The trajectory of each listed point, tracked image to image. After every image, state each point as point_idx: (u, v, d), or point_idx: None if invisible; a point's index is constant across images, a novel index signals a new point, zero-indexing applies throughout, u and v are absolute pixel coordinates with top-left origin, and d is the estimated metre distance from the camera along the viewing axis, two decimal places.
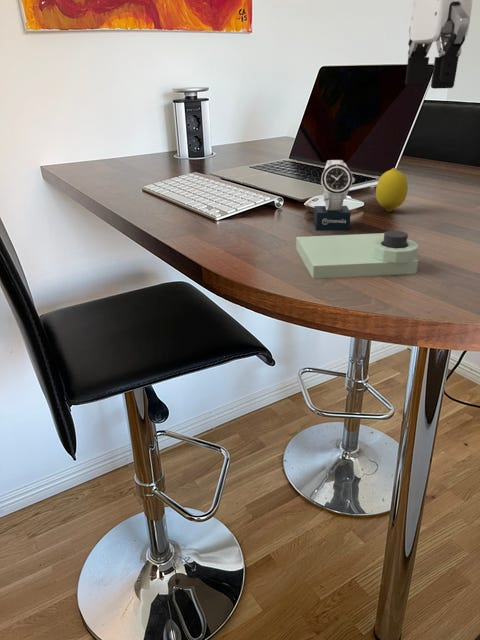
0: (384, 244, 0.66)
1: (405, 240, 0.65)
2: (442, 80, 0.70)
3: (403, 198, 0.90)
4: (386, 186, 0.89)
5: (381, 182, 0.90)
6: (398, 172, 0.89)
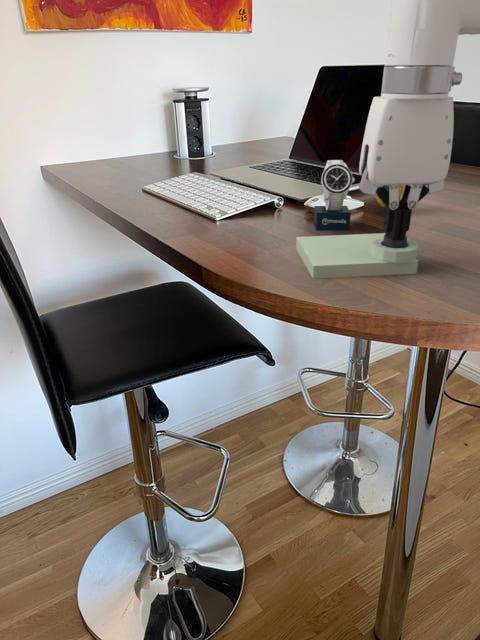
0: None
1: (405, 243, 0.65)
2: (407, 229, 0.65)
3: None
4: None
5: None
6: None
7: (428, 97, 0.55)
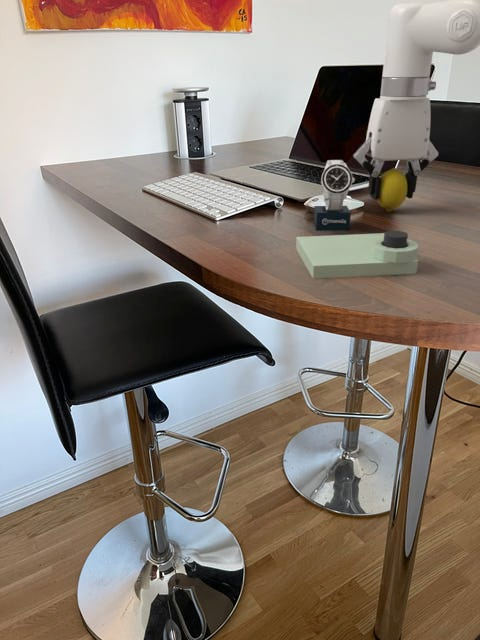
0: (384, 244, 0.66)
1: (405, 240, 0.65)
2: (414, 191, 0.91)
3: (403, 198, 0.90)
4: (386, 186, 0.89)
5: (381, 182, 0.90)
6: (398, 172, 0.89)
7: (412, 98, 0.81)
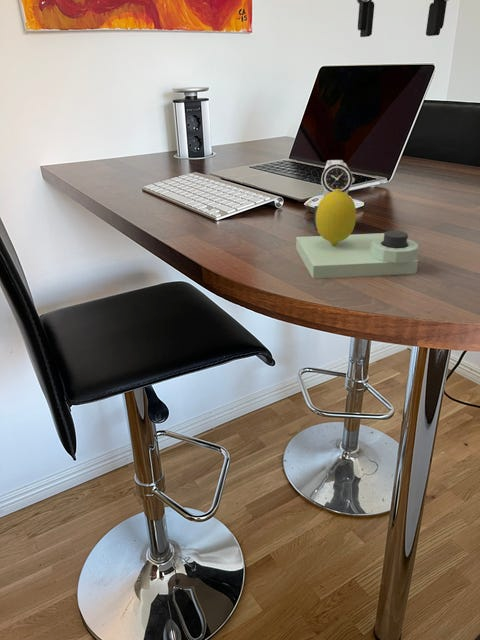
0: (384, 244, 0.66)
1: (405, 240, 0.65)
2: (442, 26, 0.69)
3: (350, 228, 0.68)
4: (326, 213, 0.67)
5: (320, 207, 0.68)
6: (342, 195, 0.67)
7: None
